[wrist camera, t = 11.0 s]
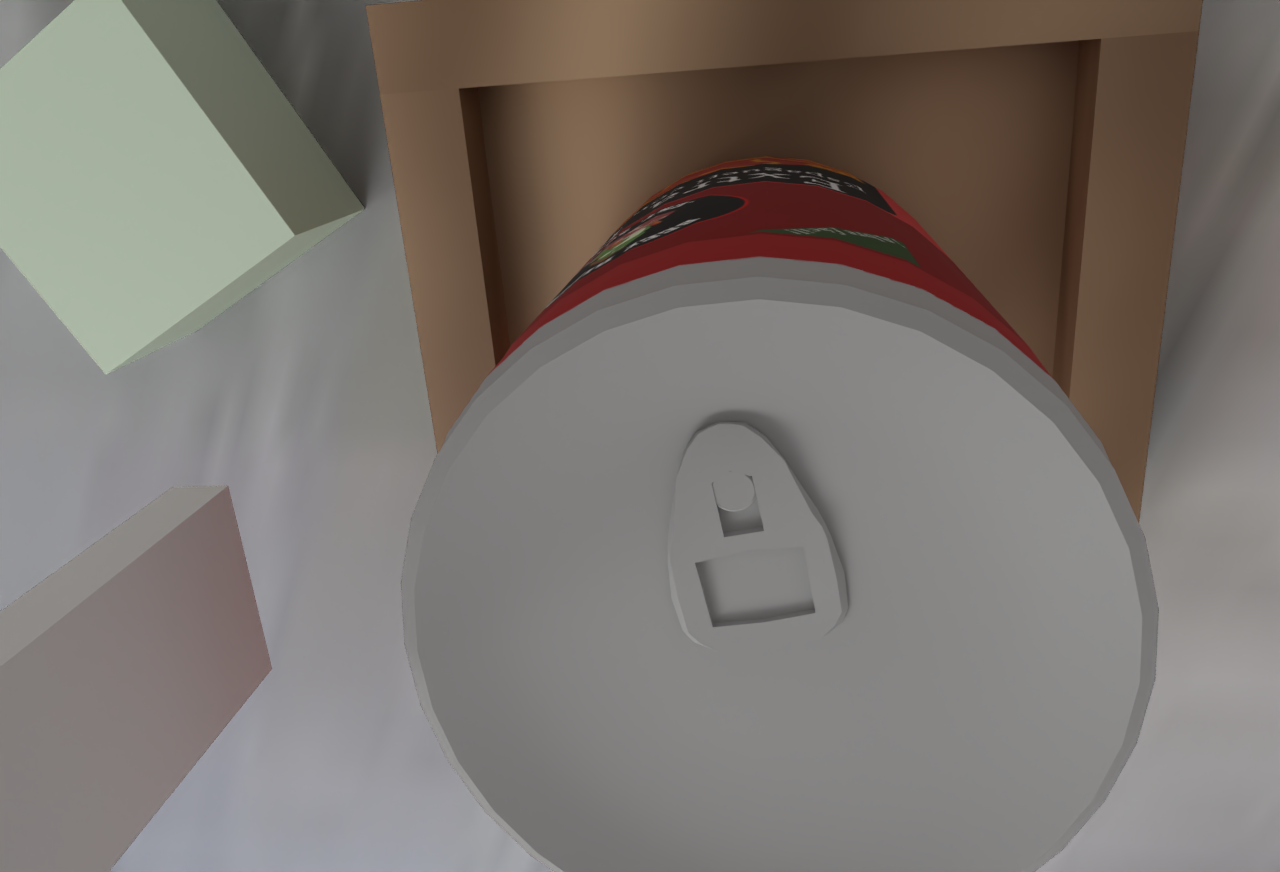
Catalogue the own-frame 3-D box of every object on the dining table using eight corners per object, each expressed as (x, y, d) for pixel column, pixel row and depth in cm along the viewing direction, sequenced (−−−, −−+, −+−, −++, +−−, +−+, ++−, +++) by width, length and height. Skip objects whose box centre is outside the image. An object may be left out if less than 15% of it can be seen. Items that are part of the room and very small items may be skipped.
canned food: (857, 73, 18) (972, 102, 8) (1023, 437, 20) (1286, 840, 10) (510, 267, 20) (237, 491, 10) (693, 577, 22) (626, 1026, 12)
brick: (200, 329, 26) (105, 374, 22) (45, 131, 25) (-84, 145, 21) (367, 208, 24) (295, 235, 20) (211, -13, 23) (102, -26, 19)
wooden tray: (525, 561, 27) (472, 670, 22) (454, 15, 22) (366, 5, 17) (1053, 558, 25) (1120, 678, 20) (1106, -43, 20) (1211, -73, 15)
